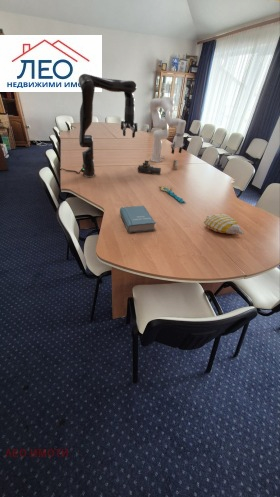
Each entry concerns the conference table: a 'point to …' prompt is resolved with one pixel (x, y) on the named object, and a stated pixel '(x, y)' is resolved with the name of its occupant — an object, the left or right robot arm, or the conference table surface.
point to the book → (137, 219)
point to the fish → (223, 224)
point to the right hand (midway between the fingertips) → (176, 153)
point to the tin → (175, 164)
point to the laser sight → (148, 168)
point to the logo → (171, 193)
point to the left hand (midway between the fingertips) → (128, 136)
